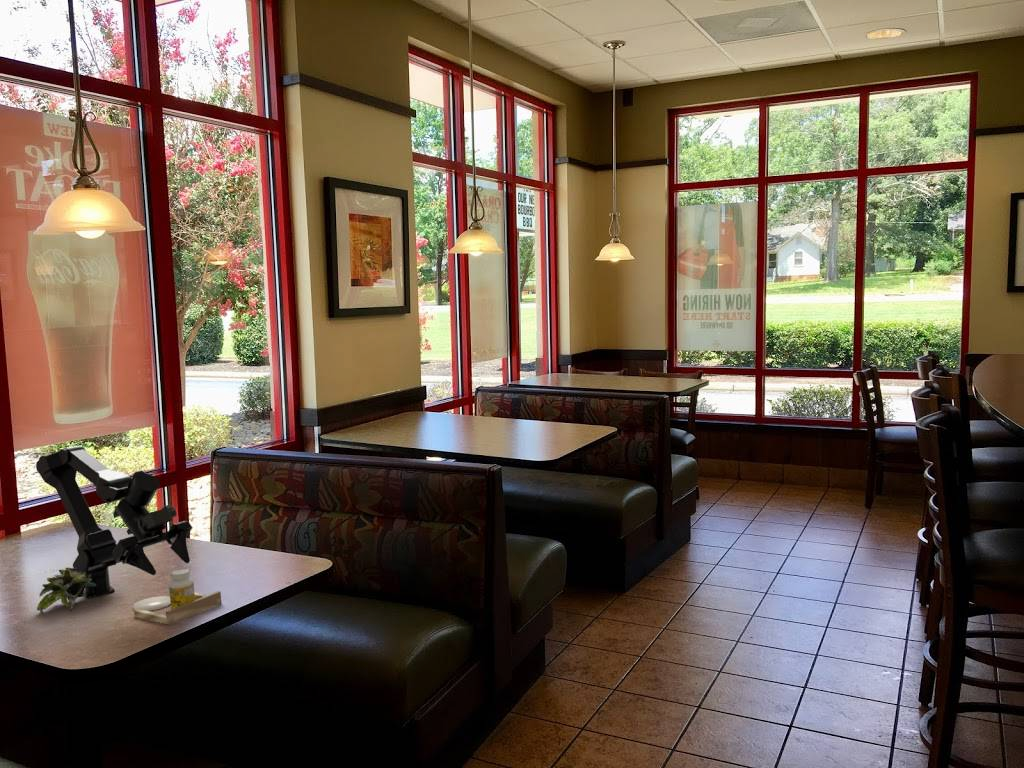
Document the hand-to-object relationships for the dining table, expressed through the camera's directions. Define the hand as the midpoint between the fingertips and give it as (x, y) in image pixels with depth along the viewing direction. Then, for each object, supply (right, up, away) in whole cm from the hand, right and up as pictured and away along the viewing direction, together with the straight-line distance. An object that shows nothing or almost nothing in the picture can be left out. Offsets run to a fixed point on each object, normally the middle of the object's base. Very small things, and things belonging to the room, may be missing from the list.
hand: (172, 568), depth 193 cm
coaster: (-7, -10, +5) cm, 13 cm away
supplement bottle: (+3, -10, 0) cm, 11 cm away
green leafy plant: (-28, -11, +6) cm, 31 cm away
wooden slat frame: (+1, -10, 0) cm, 10 cm away
